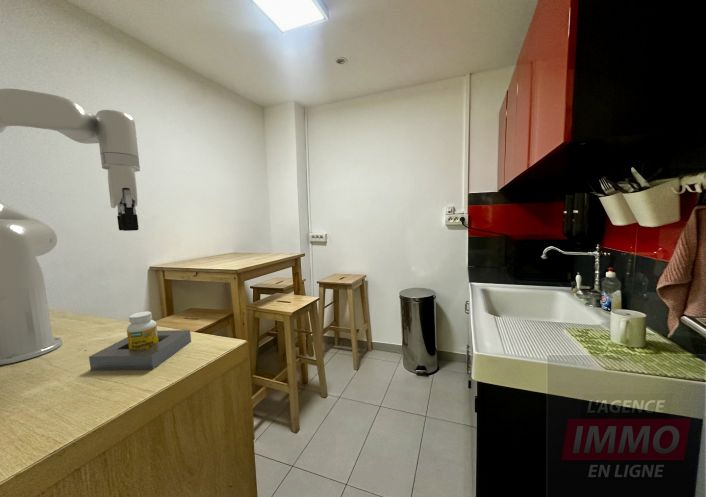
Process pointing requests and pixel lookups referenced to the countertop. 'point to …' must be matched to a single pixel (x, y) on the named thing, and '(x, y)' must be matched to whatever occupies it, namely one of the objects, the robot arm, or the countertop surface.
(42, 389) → the countertop surface
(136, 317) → the supplement bottle
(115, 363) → the square hole block
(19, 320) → the robot arm
